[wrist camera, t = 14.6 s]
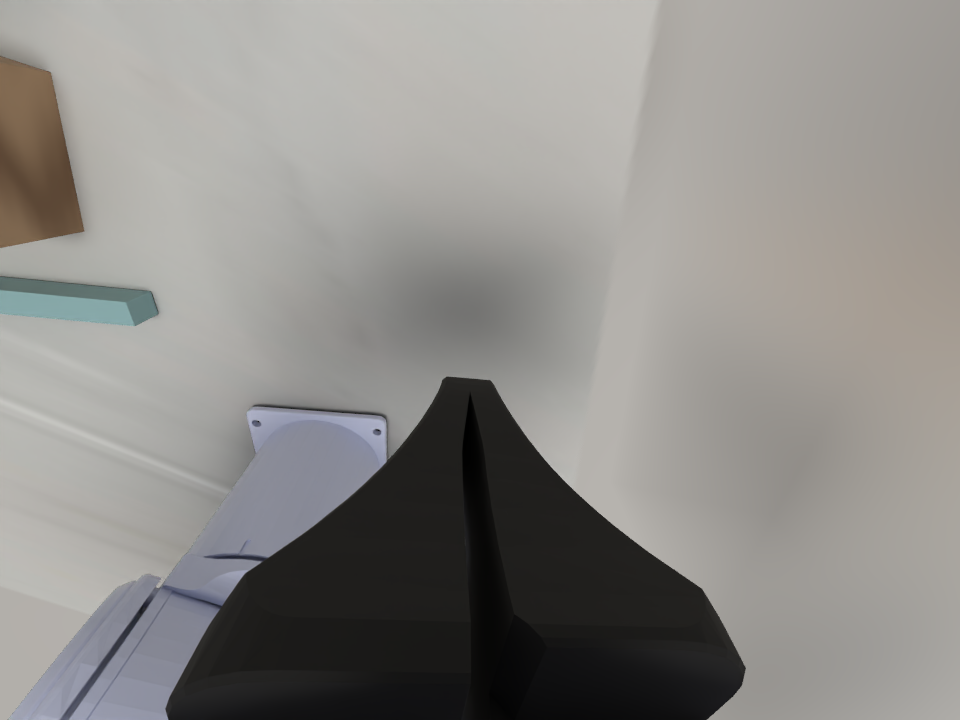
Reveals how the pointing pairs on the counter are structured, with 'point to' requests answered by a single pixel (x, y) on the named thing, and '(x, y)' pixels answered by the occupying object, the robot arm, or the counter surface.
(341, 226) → the counter surface
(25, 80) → the walnut block
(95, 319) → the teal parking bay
